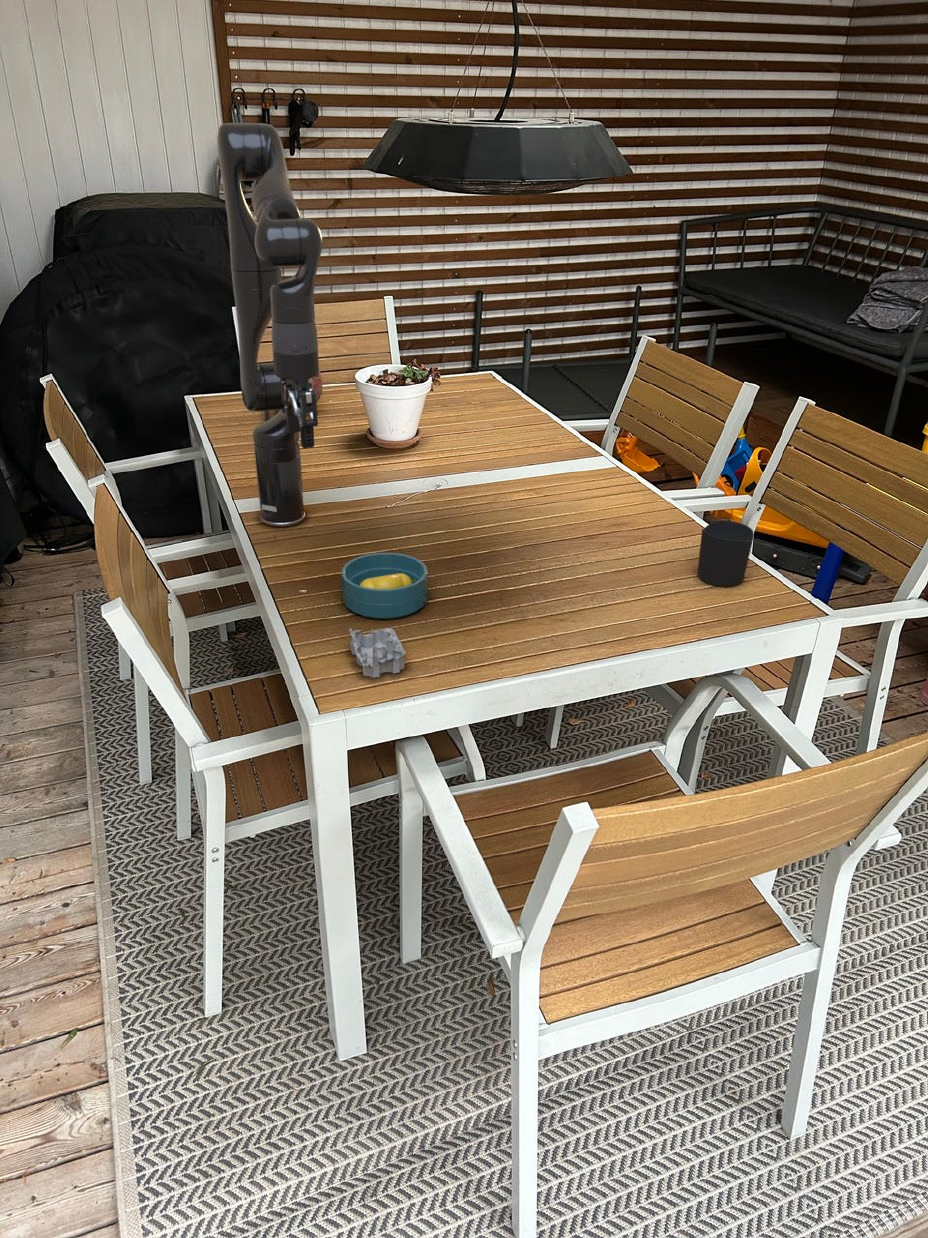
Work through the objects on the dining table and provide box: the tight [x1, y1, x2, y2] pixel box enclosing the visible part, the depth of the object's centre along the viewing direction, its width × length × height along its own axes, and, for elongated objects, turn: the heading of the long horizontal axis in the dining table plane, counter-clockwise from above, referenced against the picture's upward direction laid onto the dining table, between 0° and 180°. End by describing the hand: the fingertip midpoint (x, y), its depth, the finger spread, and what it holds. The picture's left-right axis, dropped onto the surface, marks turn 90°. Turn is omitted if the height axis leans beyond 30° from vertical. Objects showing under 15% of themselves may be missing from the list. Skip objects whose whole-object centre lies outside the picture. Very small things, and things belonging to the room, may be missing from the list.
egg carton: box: [348, 627, 407, 678], centre depth 153 cm, size 11×8×4 cm
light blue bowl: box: [341, 552, 428, 620], centre depth 171 cm, size 15×15×6 cm
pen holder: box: [697, 519, 755, 588], centre depth 181 cm, size 9×9×10 cm
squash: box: [360, 573, 417, 589], centre depth 171 cm, size 11×4×4 cm, turn 114°
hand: (301, 439), depth 167 cm, fingers open, 8 cm apart
